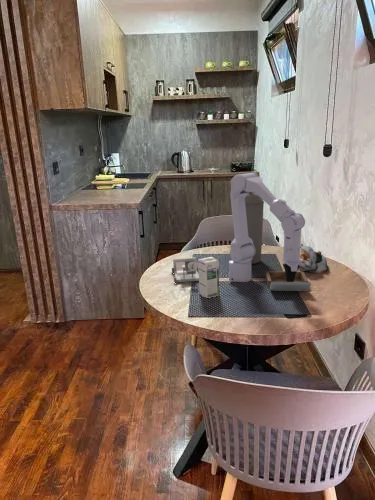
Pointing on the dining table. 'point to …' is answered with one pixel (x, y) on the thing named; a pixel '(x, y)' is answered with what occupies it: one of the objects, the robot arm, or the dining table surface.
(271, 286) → the cabinet door
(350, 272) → the dining table surface
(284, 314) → the phone
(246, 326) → the dining table surface
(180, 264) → the grey small appliance
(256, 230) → the canister
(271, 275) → the brown shallow open box
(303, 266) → the lucky cat figurine
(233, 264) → the robot arm
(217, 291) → the syrup box
